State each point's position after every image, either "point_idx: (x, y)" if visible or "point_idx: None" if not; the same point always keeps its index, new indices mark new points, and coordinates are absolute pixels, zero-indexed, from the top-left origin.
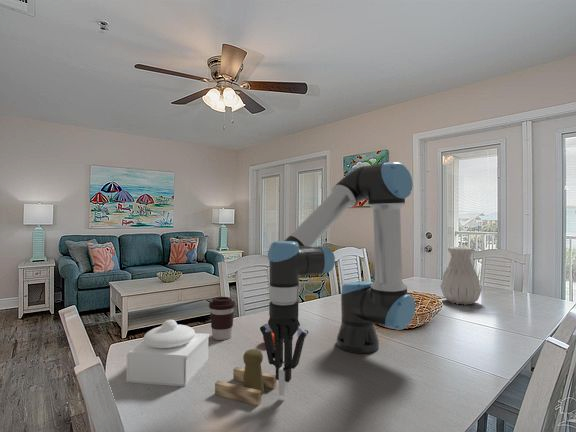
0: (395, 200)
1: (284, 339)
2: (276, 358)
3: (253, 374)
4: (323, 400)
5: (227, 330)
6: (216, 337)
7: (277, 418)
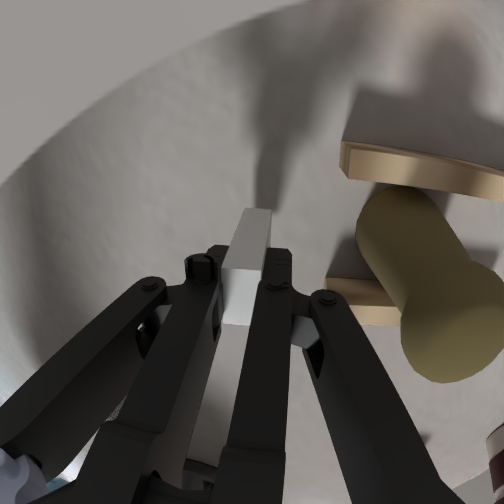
0: None
1: (128, 463)
2: (276, 320)
3: (420, 241)
4: (128, 260)
5: (500, 447)
6: None
7: (226, 86)
